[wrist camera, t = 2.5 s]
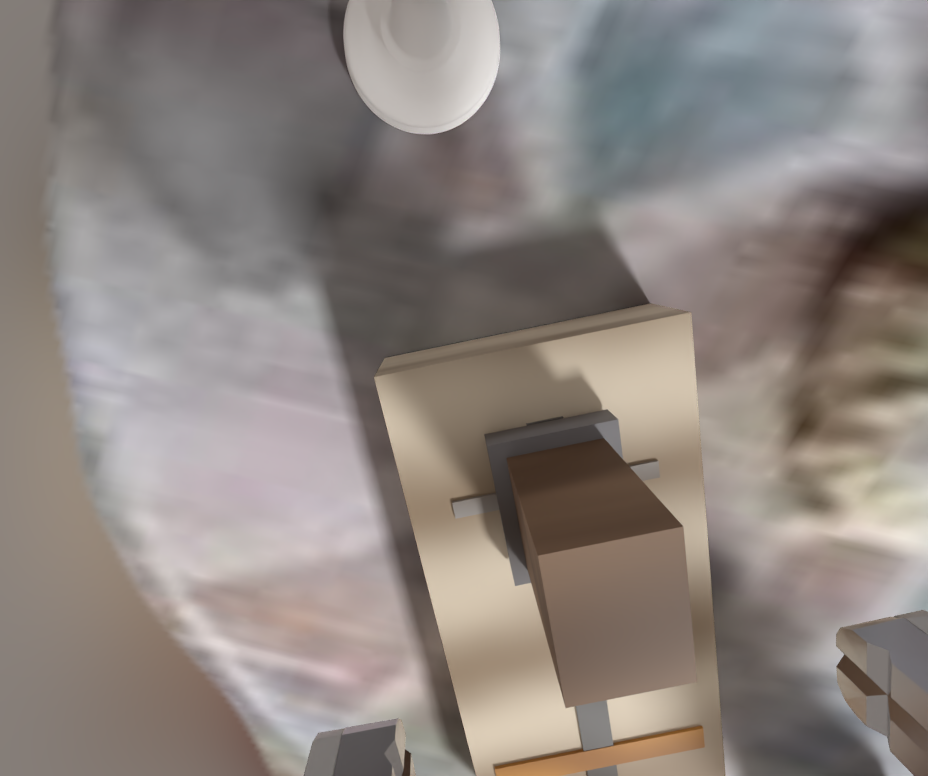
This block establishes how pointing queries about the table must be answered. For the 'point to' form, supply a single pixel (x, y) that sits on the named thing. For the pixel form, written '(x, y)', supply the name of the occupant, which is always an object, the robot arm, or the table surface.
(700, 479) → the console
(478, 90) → the chess piece
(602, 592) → the slider
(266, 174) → the table surface
